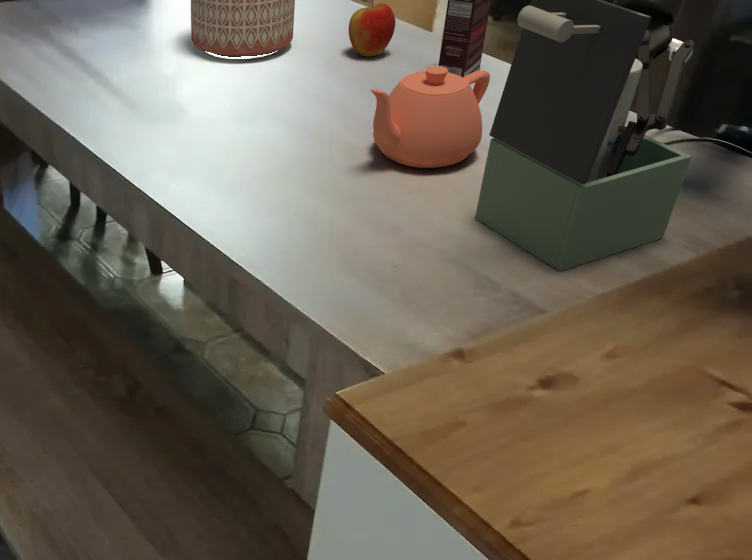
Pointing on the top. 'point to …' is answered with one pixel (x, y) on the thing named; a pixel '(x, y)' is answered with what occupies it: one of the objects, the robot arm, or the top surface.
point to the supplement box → (464, 36)
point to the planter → (242, 26)
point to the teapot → (430, 117)
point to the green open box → (580, 203)
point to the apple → (371, 29)
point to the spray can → (616, 125)
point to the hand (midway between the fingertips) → (576, 170)
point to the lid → (567, 81)
